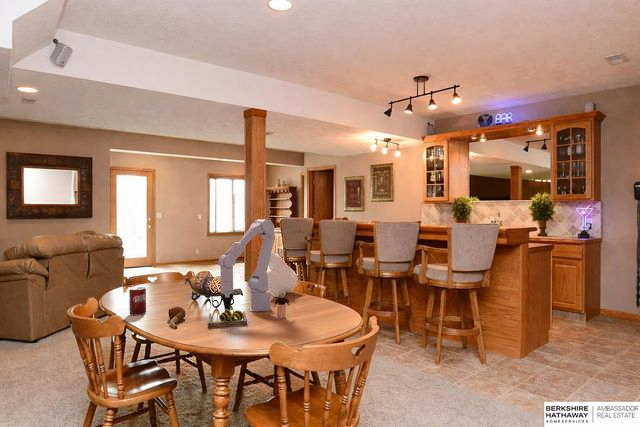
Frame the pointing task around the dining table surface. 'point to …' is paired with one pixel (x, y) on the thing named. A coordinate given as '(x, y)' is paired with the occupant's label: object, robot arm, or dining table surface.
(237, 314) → the opera glasses
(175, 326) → the smoking pipe
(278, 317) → the grandmother figurine
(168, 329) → the dining table surface
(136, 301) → the soda can
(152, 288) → the dining table surface
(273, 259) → the white rounded lump
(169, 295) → the dining table surface
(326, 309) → the dining table surface
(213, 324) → the bar
